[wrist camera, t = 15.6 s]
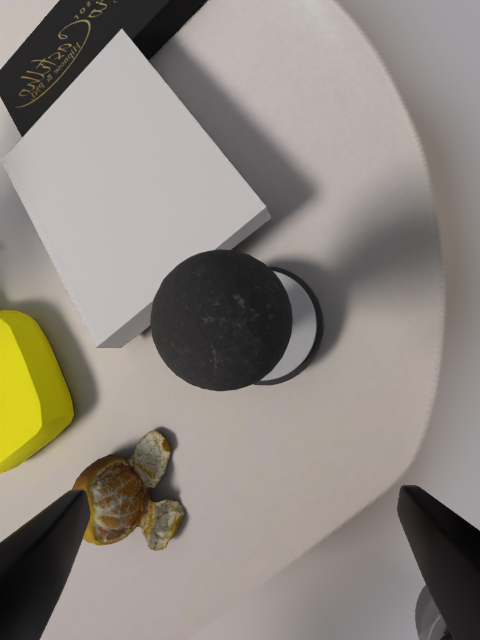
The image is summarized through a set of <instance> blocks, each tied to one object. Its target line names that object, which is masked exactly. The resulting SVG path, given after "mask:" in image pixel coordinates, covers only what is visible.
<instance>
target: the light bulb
mask: <svg viewBox="0 0 480 640" xmlns="http://www.w3.org/2000/svg"><path fill="white" fill-rule="evenodd" d="M150 323H151V331H152V337H153V341H154V343H155V346H156V348H157V350H158V352H159V354H160V356H161V358H162V359H163V361H164V362H165V363H166V365H167V366H168V367H169V368H170V369H171V370H172V371H173V372H174V373H175V374H176V375H177V376H179V377H180V378H182V379H183V380H185V381H186V382H188V383H189V384H192V385H194V386H197V387H200V388H202V389H208V390H214V391H228V390H236V389H240V388H243V387H246V386H249V385H252V384H254V383H256V382H258V381H260V380H261V379H263V378H264V377H265V376H266V375H268V374H269V373H270V372H271V371H272V370H273V369H274V368H275V366H276V365H277V364H278V363H279V361H280V360H281V359H282V358H283V356H284V353H285V351H286V349H287V346H288V344H289V341H290V337H291V334H292V324H293V316H292V307H291V303H290V300H289V297H288V293H287V291H286V289H285V287H284V286H283V284H282V282H281V280H280V279H279V278H278V276H277V275H276V274H275V273H274V272H273V271H272V270H271V269H270V268H269V267H268V266H267V265H265V264H264V263H262V262H261V261H259V260H257V259H255V258H254V257H252V256H250V255H248V254H245V253H241V252H237V251H232V250H223V249H217V250H211V251H206V252H201V253H198V254H196V255H193V256H191V257H189V258H187V259H186V260H184V261H183V262H181V263H180V264H178V265H177V266H176V267H175V268H174V269H173V270H172V271H171V272H170V273H169V274H168V275H167V276H166V277H165V278H164V279H163V281H162V283H161V285H160V287H159V289H158V291H157V293H156V295H155V297H154V299H153V304H152V310H151V320H150Z"/></svg>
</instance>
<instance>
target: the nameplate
mask: <svg viewBox="0 0 480 640" xmlns="http://www.w3.org/2000/svg"><path fill="white" fill-rule="evenodd" d="M205 1H206V0H59V2H58V3H57V4H56V5H55V6H54V7H53V9H52V10H51V11H50V12H49V13H48V14H47V16H46V17H45V18H44V19H43V20H42V21H41V23H40V24H39V25H38V26H37V27H36V29H35V30H34V31H33V32H32V33H31V34H30V36H29V37H28V38H27V39H26V40H25V41H24V43H23V44H22V45H21V46H20V47H19V48H18V50H17V51H16V52H15V53H14V54H13V56H12V57H11V58H10V59H9V60H8V61H7V63H6V64H5V65H4V66H3V67H2V68H1V70H0V97H1V99H2V101H3V102H4V104H5V106H6V108H7V110H8V112H9V114H10V116H11V117H12V119H13V121H14V123H15V125H16V127H17V129H18V130H19V132H20V134H21V136H22V137H23V136H24V135H25V134H26V133H27V132H28V131H29V130H30V129H31V128H32V126H33V125H34V124H35V123H36V122H37V121H38V120H39V119H40V118H41V117H42V116H43V114H44V113H45V112H46V111H47V110H48V109H49V108H50V107H51V106H52V105H53V103H54V102H55V101H56V100H57V99H58V98H59V97H60V96H61V95H62V94H63V92H64V91H65V90H66V89H67V88H68V87H69V86H70V85H71V84H72V83H73V82H74V80H75V79H76V78H77V77H78V76H79V75H80V74H81V73H82V72H83V71H84V69H85V68H86V67H87V66H88V65H89V64H90V63H91V62H92V61H93V60H94V58H95V57H96V56H97V55H98V54H99V53H100V52H101V51H102V50H103V49H104V48H105V46H106V45H107V44H108V43H109V42H110V41H111V40H112V39H113V38H114V37H115V35H116V34H117V33H118V32H119V31H120V30H121V29H123V31H124V32H125V33H126V34H127V36H128V37H129V38H130V39H131V40H132V42H133V43H134V44H135V45H136V47H137V48H138V49H139V50H140V52H141V53H142V54H143V55H144V56H145V58H146V59H147V60H148V59H149V58H150V57H151V56H152V55H153V54H154V53H155V52H156V51H157V50H158V49H159V48H160V47H161V46H162V45H163V44H164V43H165V42H166V41H167V40H168V39H169V38H170V37H171V36H172V35H173V34H174V32H175V31H176V30H177V29H178V28H179V27H180V26H181V25H182V24H183V23H184V22H185V21H186V20H187V19H188V18H189V17H190V16H191V15H192V14H193V13H194V12H195V11H196V10H197V9H198V8H199V7H200V6H201V5H202V4H203V3H204V2H205Z"/></svg>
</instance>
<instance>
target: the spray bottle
mask: <svg viewBox="0 0 480 640" xmlns="http://www.w3.org/2000/svg"><path fill="white" fill-rule="evenodd" d="M73 416H74V410H73V405H72V400H71V396H70V392H69V390H68V387H67V385H66V382H65V380H64V377H63V375H62V372H61V370H60V367H59V365H58V362H57V360H56V357H55V355H54V353H53V351H52V348H51V346H50V344H49V342H48V340H47V338H46V336H45V334H44V333H43V331H42V330H41V328H40V326H39V325H38V323H37V322H36V321H35V320H34V319H32V318H31V317H30V316H29V315H27V314H24V313H22V312H19V311H13V310H0V473H3V472H6V471H8V470H11V469H13V468H15V467H17V466H19V465H20V464H21V463H23V462H24V461H25V460H27V459H28V458H29V457H31V456H32V455H33V454H35V453H36V452H37V451H39V450H40V449H41V448H43V447H44V446H45V445H47V444H48V443H49V442H51V441H52V440H53V439H54V438H55V437H56V436H57V435H58V434H60V433H61V432H62V431H63V430H64V429H65V428H66V427H67V426H68V425H69V424H70V423H71V421H72V419H73Z"/></svg>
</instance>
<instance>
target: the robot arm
mask: <svg viewBox="0 0 480 640" xmlns="http://www.w3.org/2000/svg"><path fill="white" fill-rule="evenodd" d="M397 512H398V516H399V519H400V522H401V524H402V526H403V529H404V532H405V534H406V536H407V539H408V541H409V544H410V546H411V548H412V551H413V554H414V556H415V559H416V561H417V564H418V566H419V569H420V571H421V574H422V576H423V578H424V581H425V583H426V585H427V587H428V589H429V591H430V593H431V595H432V597H433V599H434V601H435V603H436V605H437V607H438V609H439V611H440V613H441V615H442V617H443V619H444V621H445V623H446V625H447V627H448V629H449V631H448V632H447V633H446V634H445V635H444V636H443V637H442V638H441V639H440V640H480V531H479V530H478V529H477V528H475V527H474V526H472V525H471V524H470V523H468V522H467V521H466V520H464V519H463V518H462V517H460V516H459V515H457V514H456V513H454V512H453V511H452V510H450V509H449V508H447V507H446V506H445V505H444V504H442V503H441V502H439V501H438V500H437V499H435V498H434V497H432V496H431V495H430V494H428V493H427V492H426V491H424V490H423V489H421V488H420V487H418V486H416V485H403V486H401V488H400V492H399V499H398V506H397ZM90 515H91V511H90V506H89V501H88V496H87V492H86V491H85V490H83V489H81V490H70V491H68V492H67V493H65V494H64V495H63V496H61V497H60V498H59V499H57V500H56V501H55V502H53V503H52V504H51V505H49V506H48V507H47V508H45V509H44V510H43V511H41V512H40V513H39V514H38V515H36V516H35V517H34V518H32V519H31V520H30V521H28V522H27V523H26V524H24V525H23V526H22V527H20V528H19V529H18V530H16V531H15V532H14V533H12V534H11V535H10V536H8V537H7V538H6V539H4V540H3V541H2V542H0V640H40V638H41V636H42V634H43V631H44V629H45V627H46V625H47V623H48V621H49V619H50V617H51V614H52V612H53V610H54V608H55V606H56V604H57V602H58V600H59V597H60V595H61V593H62V591H63V589H64V586H65V584H66V581H67V579H68V576H69V574H70V571H71V568H72V566H73V563H74V561H75V558H76V555H77V553H78V550H79V547H80V545H81V542H82V539H83V537H84V534H85V531H86V529H87V526H88V523H89V520H90Z"/></svg>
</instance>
